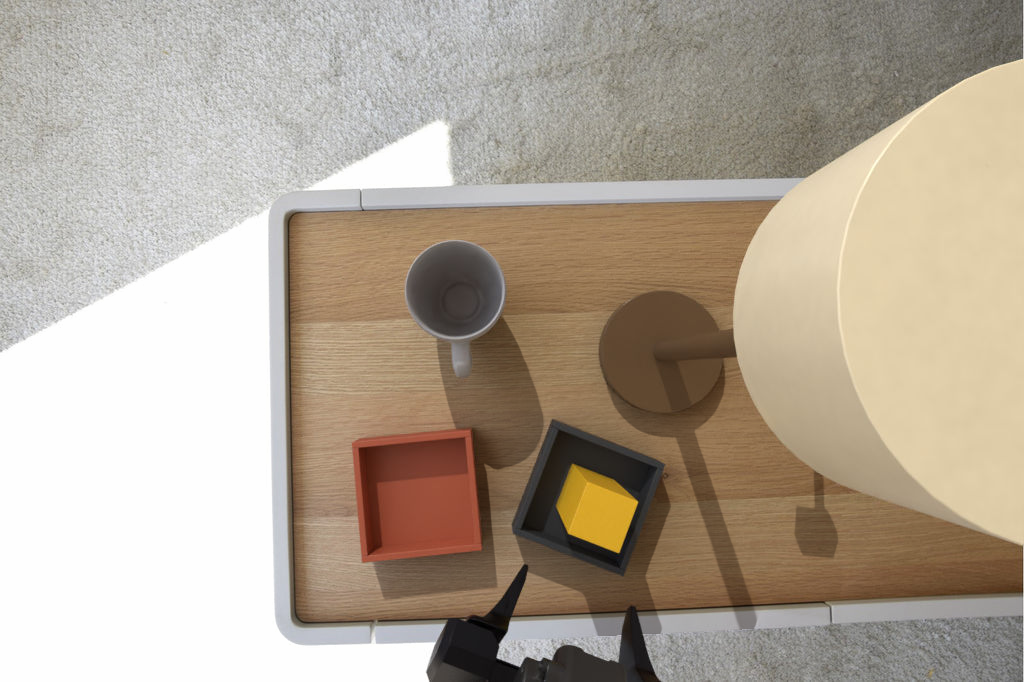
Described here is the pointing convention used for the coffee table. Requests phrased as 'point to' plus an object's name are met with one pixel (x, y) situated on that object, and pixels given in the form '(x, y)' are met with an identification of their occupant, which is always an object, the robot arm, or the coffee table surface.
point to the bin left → (417, 494)
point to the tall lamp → (876, 315)
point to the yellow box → (595, 508)
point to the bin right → (548, 478)
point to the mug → (456, 296)
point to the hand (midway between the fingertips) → (578, 587)
